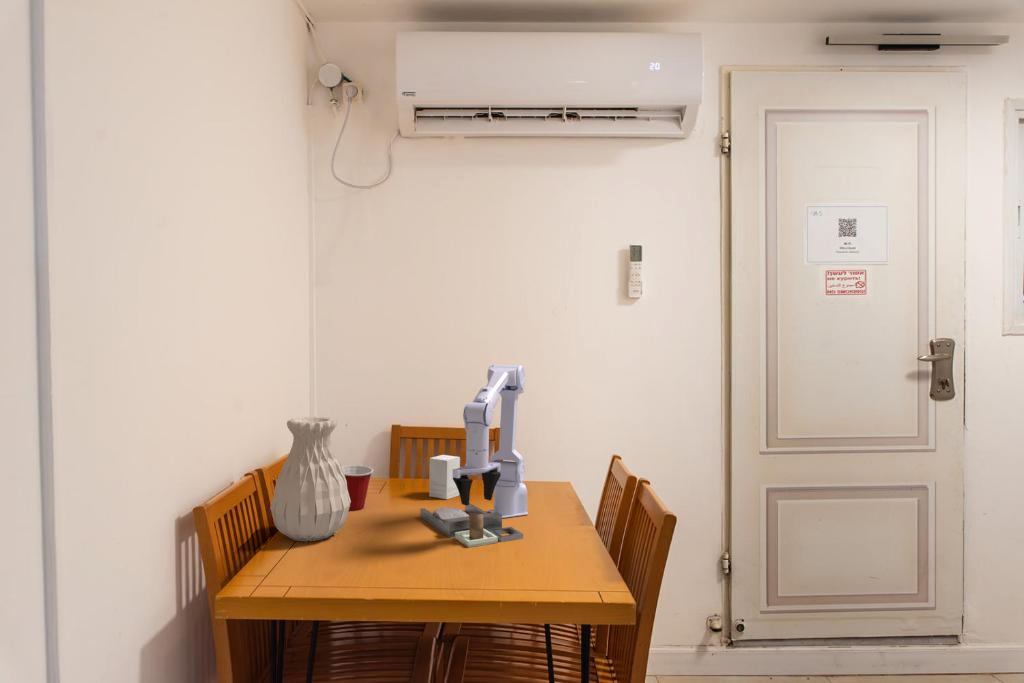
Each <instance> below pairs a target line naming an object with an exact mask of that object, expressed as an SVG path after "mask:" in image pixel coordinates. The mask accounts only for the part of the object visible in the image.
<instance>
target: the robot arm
mask: <svg viewBox="0 0 1024 683" xmlns="http://www.w3.org/2000/svg"><path fill="white" fill-rule="evenodd" d="M525 377H526V374H525V369H524V367H523V365H521V364H519V365H515V364H513V365H511V364H494V363H491V364H490V365H489V367H488V369H487V376H486V378H487V384H486V386H483V387H481V388H480V389H479V390H478V393H477V394H476V396H475V397H474V399H473V400H472V401H471V402H470V401H469V402H468V403H466V404H465V405H464V408H463V411H462V412H463V413H462V419H463V423H464V431H465V432H466V439H465V440H466V444H465V445H466V447H465V448H466V449H465V450H466V452H465V454H466V455H465V460H466V461H465V464H464V466H460V468H457V469H453V480H454V482H455V484H456V486H457V488H458V491H459V494H460V495H459V498H460V501H461V505H464V506H465V505H466V506H467V505H469V503H470V499H471V498H470V497H471V494H470V492H471V489H472V484H473V482H474V481H473V479H472V478H469V476H474V475H477V474H478V475H480V474H481V477H482V482H483V500H486V501H492V498H493V509H488V512H487V513H496V512H497V513H499V514H501V515H502V519H505V518H513V517H520V516H526V515H529V512H528V490H527V486H526V484H525V483H524V479H525V475H526V474H525V472H526V468H525V458H524V457H523V455H521V453H520V452H518V451H517V450H516V443H517V442H516V439H517V437H516V436H517V417H518V399H519V395H521V394H523V393H524V390H525V381H526V380H525ZM500 397H501V401H500V402H501V404H500V405H501V406H500V422H499V423H500V424H499V440H498V442H499V443H498V444H499V445H498V450H496V452H494V453H493V454H492V455H491V456H490V459H489V454H490V452H489V451H490V450H489V449H490V447H489V446H490V445H489V444H490V443H489V442H490V437H489V436H490V425H491V424H492V422H493V417H494V413H495V411H494V409H495V407H496V405H497V404H498V402H499V400H500Z"/></svg>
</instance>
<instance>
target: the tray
mask: <svg viewBox="0 0 1024 683" xmlns="http://www.w3.org/2000/svg"><path fill="white" fill-rule="evenodd" d="M454 539H455V540H457V541H458V542H460V543H461V544H463V546H465V547H467V548H473V547H480V546H486V545H487V546H488V545H493V544H498V541H499V540H498V537H497V536H495V535H494V534H492V533H490V532H489V531H487V530H485V529H484V528H483V539H476V540H471V539H469V530H468V531H461V532H455V537H454Z"/></svg>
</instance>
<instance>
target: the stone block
mask: <svg viewBox="0 0 1024 683" xmlns="http://www.w3.org/2000/svg"><path fill="white" fill-rule="evenodd" d="M432 514H434V515H435V516H437V517H438V518H440V519H441V520H443V521H444V522H445V519H452V518H459V517H466V516H469V513H467V512H466V511H465V510H462V509H460V508H457V507H449V506H448V507H440V508H436V509H435V510H434V511H432Z"/></svg>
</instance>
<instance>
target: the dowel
mask: <svg viewBox="0 0 1024 683" xmlns="http://www.w3.org/2000/svg"><path fill="white" fill-rule="evenodd" d="M468 515H469V539H471V540H476V539H483V514H482V513H471V514H469V513H468Z"/></svg>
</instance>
